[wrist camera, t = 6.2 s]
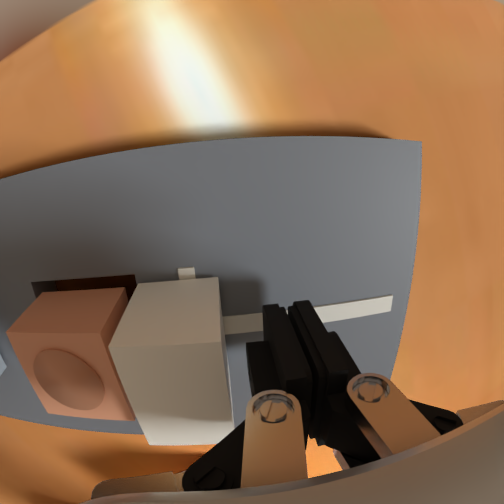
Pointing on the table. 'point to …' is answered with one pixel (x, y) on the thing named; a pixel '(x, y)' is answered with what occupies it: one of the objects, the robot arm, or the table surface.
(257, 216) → the panel
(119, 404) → the terracotta button
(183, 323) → the cream slider
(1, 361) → the blue-grey slider
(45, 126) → the table surface
